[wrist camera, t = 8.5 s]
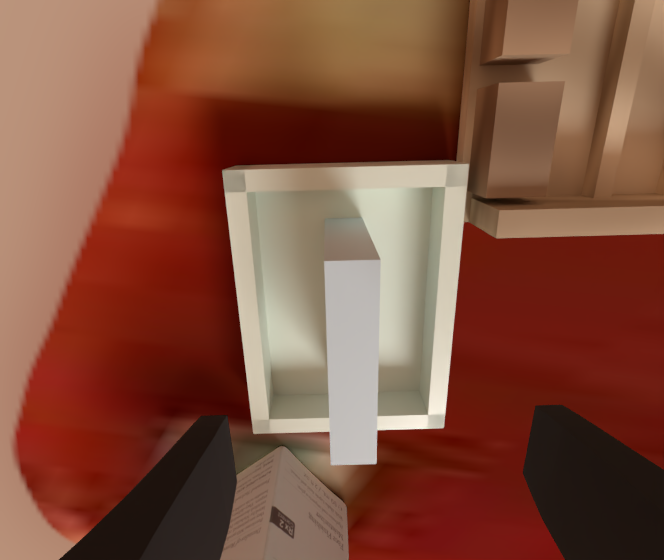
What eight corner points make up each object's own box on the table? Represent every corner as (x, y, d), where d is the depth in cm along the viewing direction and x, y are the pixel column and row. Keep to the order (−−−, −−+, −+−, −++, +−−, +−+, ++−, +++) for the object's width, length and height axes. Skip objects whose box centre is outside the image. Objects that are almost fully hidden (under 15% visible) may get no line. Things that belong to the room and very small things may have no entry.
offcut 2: (520, 189, 16) (545, 196, 14) (467, 190, 16) (486, 198, 14) (534, 88, 15) (565, 81, 13) (476, 89, 15) (499, 82, 13)
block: (361, 367, 19) (376, 463, 14) (329, 368, 19) (330, 465, 14) (362, 217, 17) (380, 259, 11) (324, 218, 17) (324, 261, 11)
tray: (430, 396, 21) (443, 428, 18) (261, 401, 21) (253, 433, 18) (449, 159, 16) (469, 163, 14) (236, 165, 16) (222, 170, 14)
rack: (675, 212, 17) (758, 231, 14) (451, 218, 17) (482, 238, 14) (765, -104, 14) (910, -182, 10) (478, -97, 13) (529, -175, 10)
